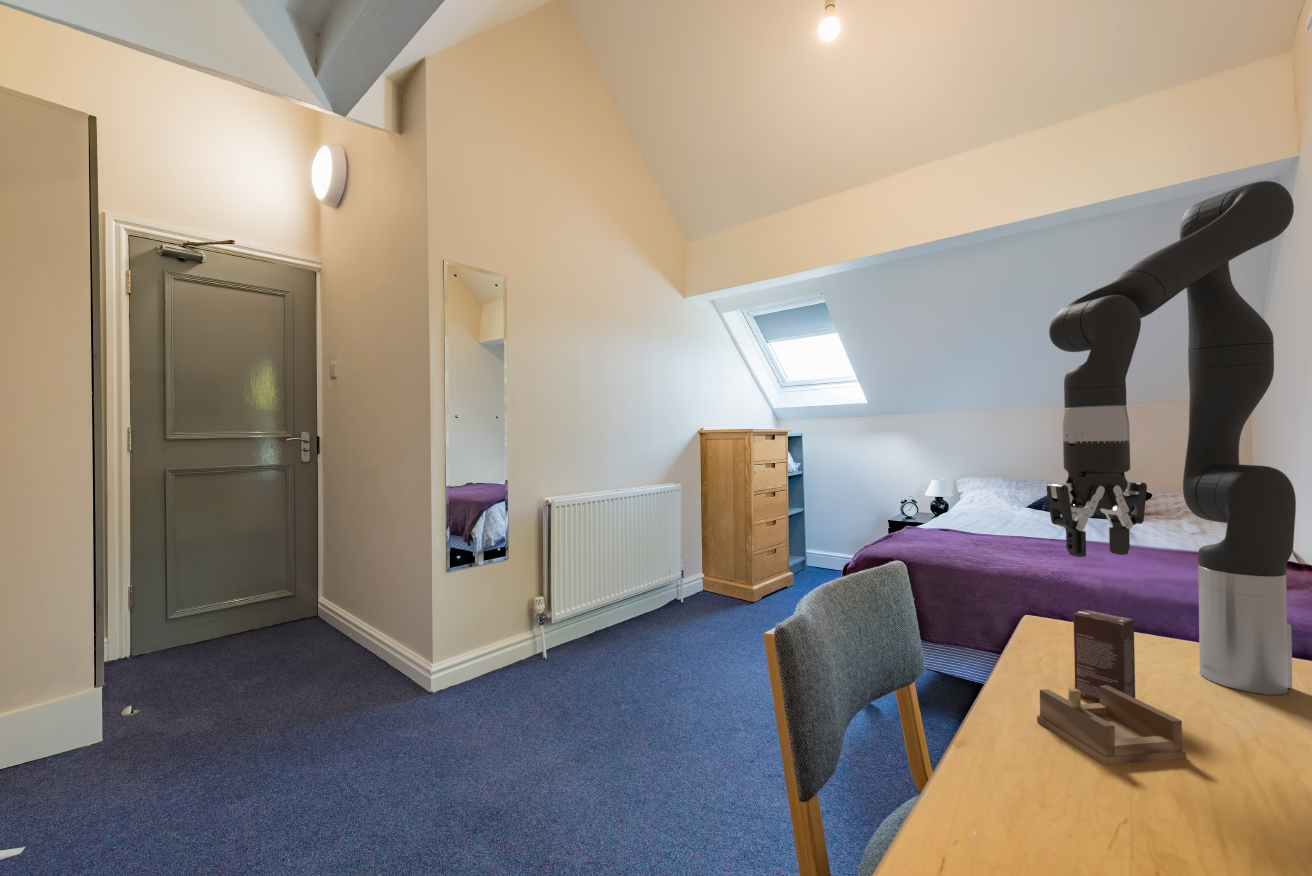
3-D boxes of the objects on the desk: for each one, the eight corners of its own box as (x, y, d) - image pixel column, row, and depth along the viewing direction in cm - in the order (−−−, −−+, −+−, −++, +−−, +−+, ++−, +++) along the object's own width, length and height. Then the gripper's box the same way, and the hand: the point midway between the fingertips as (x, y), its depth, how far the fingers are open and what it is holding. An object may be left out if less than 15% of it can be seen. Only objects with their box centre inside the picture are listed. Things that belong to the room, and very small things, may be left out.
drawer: (1108, 717, 74) (1107, 669, 74) (1186, 760, 64) (1185, 704, 64) (1037, 723, 73) (1036, 673, 73) (1105, 766, 63) (1104, 709, 63)
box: (1136, 703, 78) (1135, 618, 78) (1124, 712, 76) (1122, 624, 76) (1086, 687, 83) (1085, 607, 83) (1072, 695, 81) (1071, 612, 81)
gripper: (1115, 437, 84) (1118, 548, 84) (1029, 439, 83) (1031, 552, 82) (1166, 437, 77) (1169, 558, 77) (1072, 439, 75) (1075, 563, 75)
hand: (1098, 554), depth 80 cm, fingers open, 6 cm apart
